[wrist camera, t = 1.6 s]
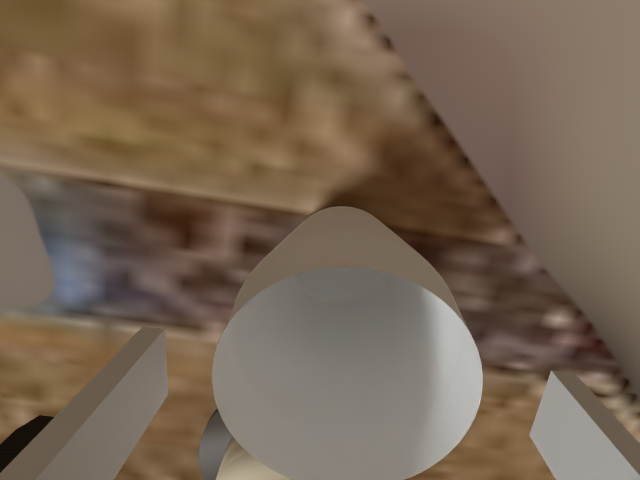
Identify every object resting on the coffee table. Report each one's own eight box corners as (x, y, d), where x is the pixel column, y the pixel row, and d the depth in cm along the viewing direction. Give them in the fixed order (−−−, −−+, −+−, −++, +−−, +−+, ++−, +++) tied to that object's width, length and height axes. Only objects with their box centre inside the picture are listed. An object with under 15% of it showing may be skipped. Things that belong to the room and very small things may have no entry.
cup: (287, 328, 25) (245, 504, 14) (255, 200, 22) (169, 287, 11) (421, 308, 24) (495, 480, 13) (404, 173, 21) (480, 236, 10)
